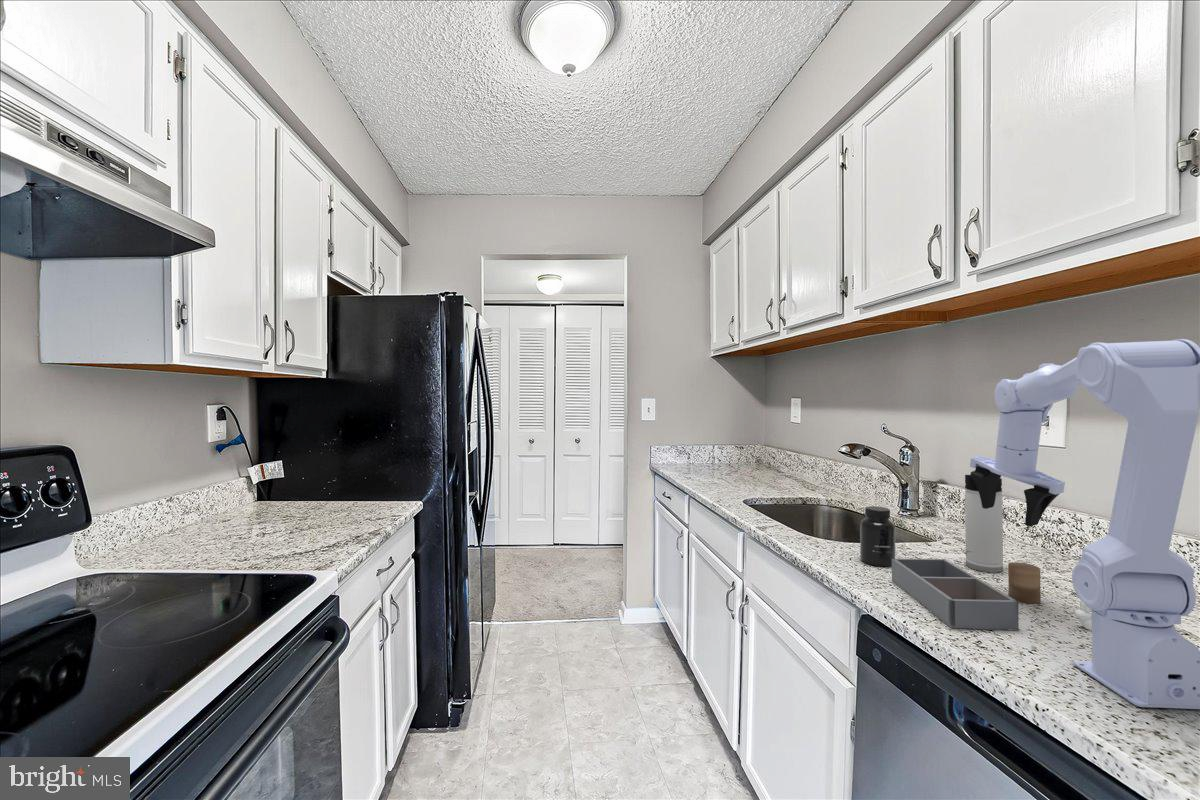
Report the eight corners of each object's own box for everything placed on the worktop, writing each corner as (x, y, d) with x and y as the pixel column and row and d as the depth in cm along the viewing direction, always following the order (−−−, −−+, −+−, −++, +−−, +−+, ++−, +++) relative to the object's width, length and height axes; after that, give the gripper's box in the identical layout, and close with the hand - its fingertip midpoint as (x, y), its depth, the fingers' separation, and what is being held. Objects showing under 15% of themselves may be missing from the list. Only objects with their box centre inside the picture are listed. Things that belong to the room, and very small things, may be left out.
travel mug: (959, 566, 106) (957, 473, 106) (974, 560, 110) (973, 470, 109) (993, 575, 101) (992, 477, 100) (1008, 569, 104) (1007, 474, 104)
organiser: (1018, 630, 79) (1018, 601, 79) (951, 628, 80) (950, 600, 80) (945, 581, 99) (944, 559, 98) (891, 580, 100) (891, 558, 100)
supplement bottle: (881, 569, 106) (880, 513, 106) (853, 560, 112) (852, 507, 112) (902, 564, 109) (902, 509, 108) (874, 555, 115) (873, 503, 115)
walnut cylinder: (1047, 605, 87) (1047, 571, 87) (1020, 604, 88) (1019, 570, 88) (1028, 594, 92) (1028, 562, 91) (1002, 594, 92) (1002, 562, 92)
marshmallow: (1116, 629, 78) (1113, 601, 78) (1121, 633, 77) (1118, 605, 77) (1075, 627, 80) (1072, 599, 80) (1080, 631, 79) (1077, 603, 79)
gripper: (1081, 454, 83) (1070, 528, 86) (992, 431, 96) (985, 496, 99) (1051, 461, 81) (1041, 537, 84) (964, 437, 94) (958, 503, 98)
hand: (1008, 515), depth 92 cm, fingers open, 7 cm apart
